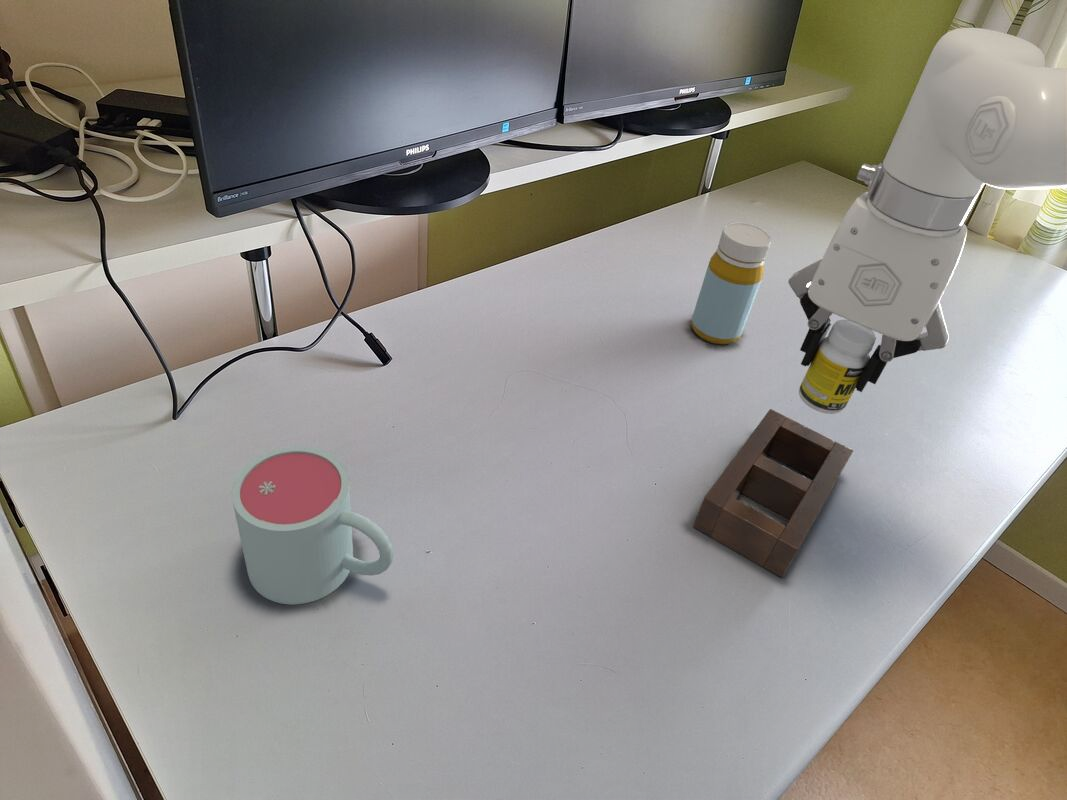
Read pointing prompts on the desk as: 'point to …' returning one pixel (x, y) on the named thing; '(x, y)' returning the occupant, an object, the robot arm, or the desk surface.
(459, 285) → the desk surface
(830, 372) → the supplement bottle
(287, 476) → the mug
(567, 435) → the desk surface
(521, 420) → the desk surface
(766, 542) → the holder
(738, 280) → the bottle
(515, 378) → the desk surface
